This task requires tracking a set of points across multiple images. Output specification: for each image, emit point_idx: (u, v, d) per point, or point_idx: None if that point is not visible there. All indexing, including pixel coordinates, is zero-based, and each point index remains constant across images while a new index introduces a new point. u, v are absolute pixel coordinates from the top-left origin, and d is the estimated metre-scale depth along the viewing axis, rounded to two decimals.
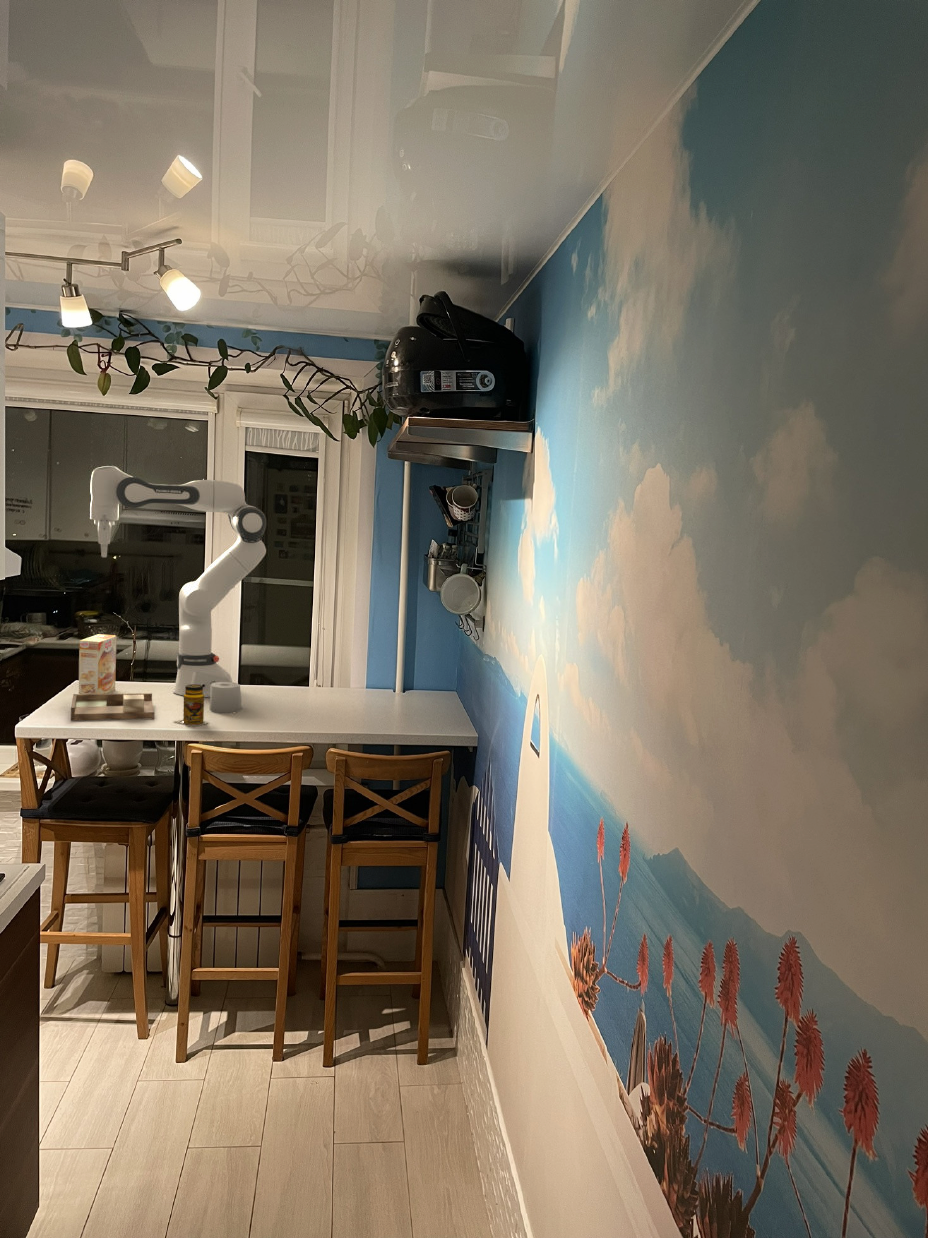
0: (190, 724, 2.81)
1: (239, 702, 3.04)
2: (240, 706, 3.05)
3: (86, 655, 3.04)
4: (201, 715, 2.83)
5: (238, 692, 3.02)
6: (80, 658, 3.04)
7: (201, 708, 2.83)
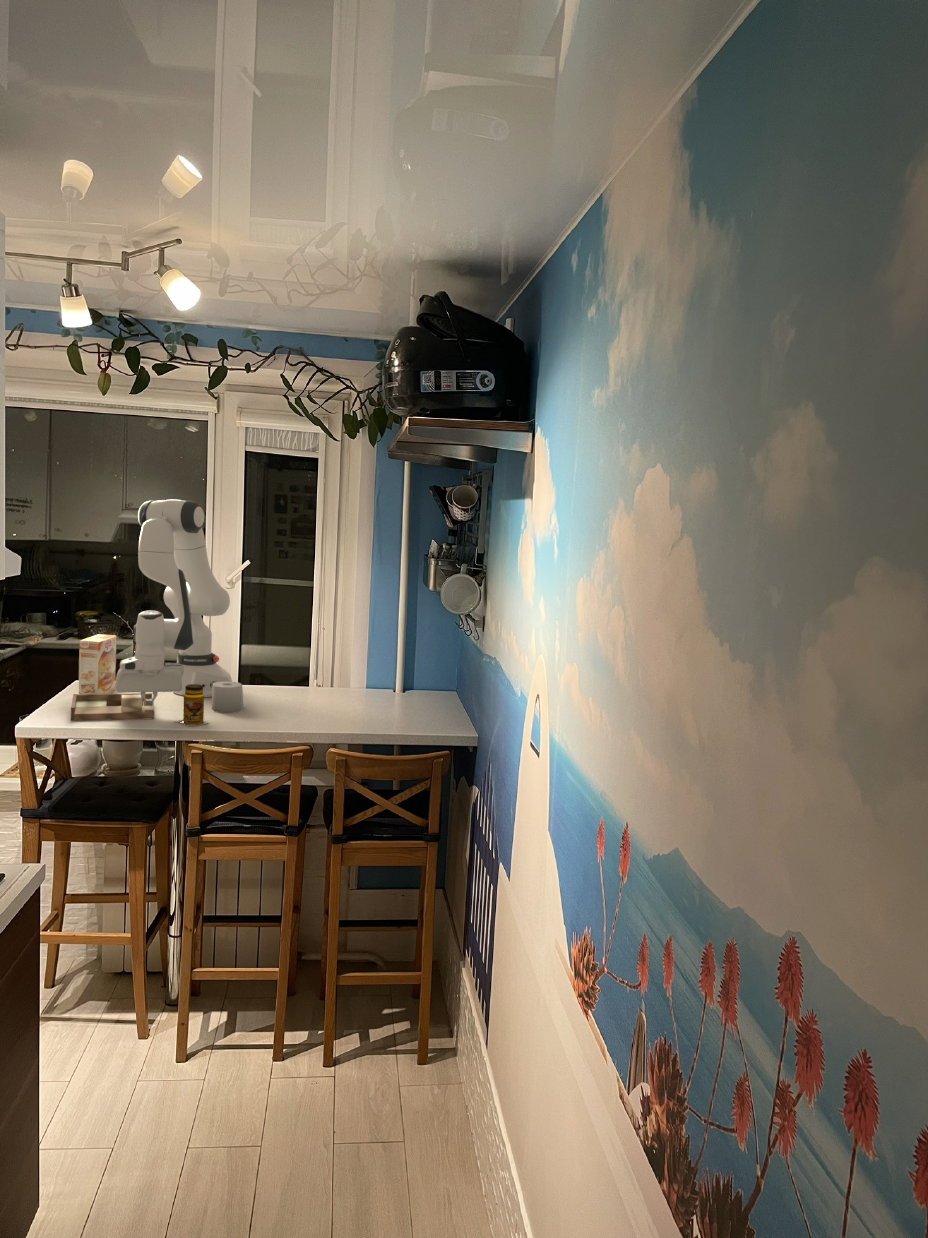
0: (190, 724, 2.81)
1: (241, 702, 3.05)
2: (242, 706, 3.06)
3: (86, 655, 3.04)
4: (201, 715, 2.83)
5: (240, 692, 3.03)
6: (80, 658, 3.04)
7: (201, 708, 2.83)
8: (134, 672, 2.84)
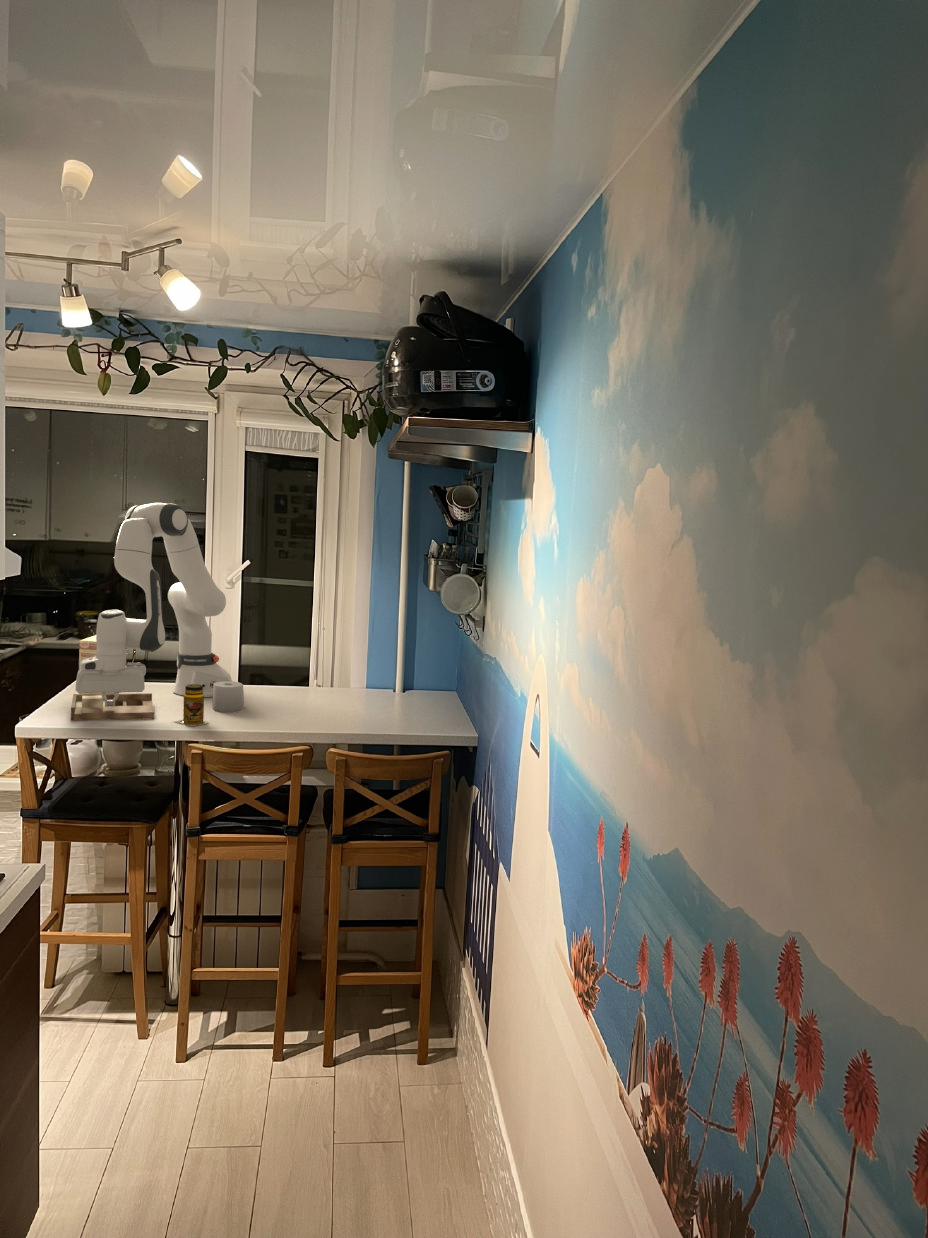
0: (190, 724, 2.81)
1: (242, 701, 3.05)
2: (243, 705, 3.07)
3: (86, 655, 3.04)
4: (201, 715, 2.83)
5: (241, 691, 3.03)
6: (80, 658, 3.04)
7: (201, 708, 2.83)
8: (94, 672, 2.80)
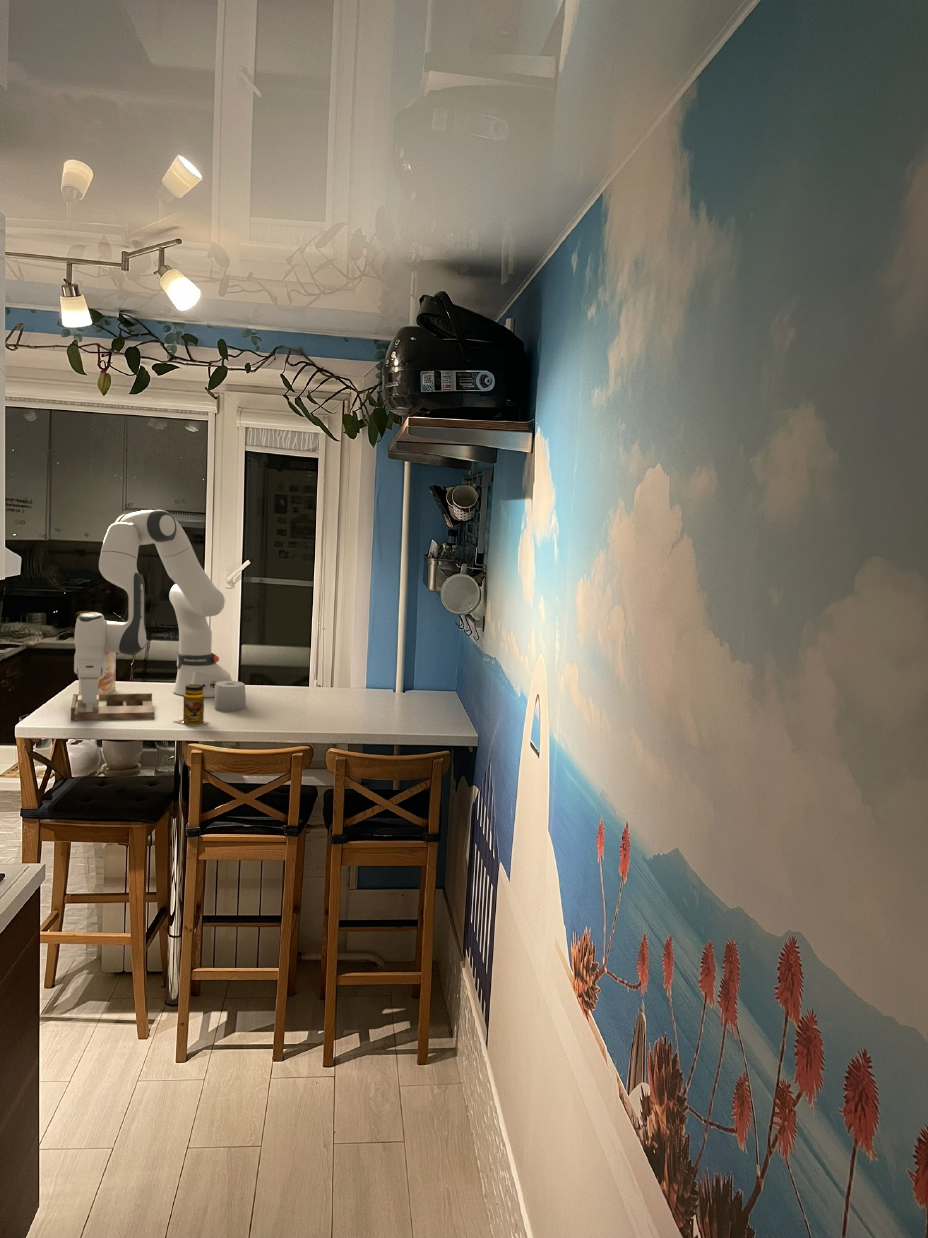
0: (190, 724, 2.81)
1: (244, 701, 3.06)
2: (245, 705, 3.07)
3: None
4: (201, 715, 2.83)
5: (243, 691, 3.04)
6: None
7: (201, 708, 2.83)
8: (99, 678, 2.74)
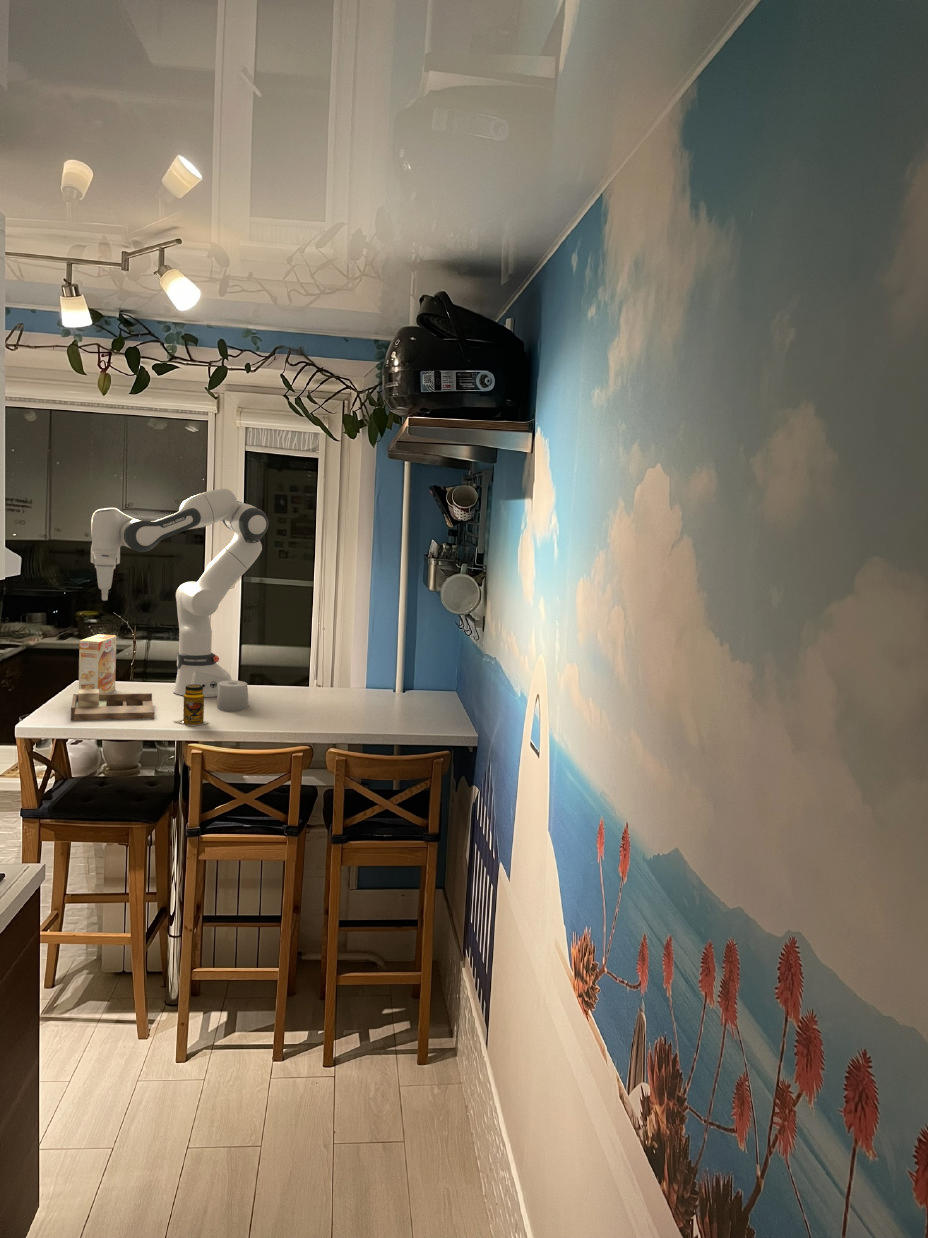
0: (190, 724, 2.81)
1: (246, 700, 3.07)
2: (247, 704, 3.08)
3: (86, 655, 3.04)
4: (201, 715, 2.83)
5: (245, 691, 3.05)
6: (80, 658, 3.04)
7: (201, 708, 2.83)
8: (114, 567, 2.94)
